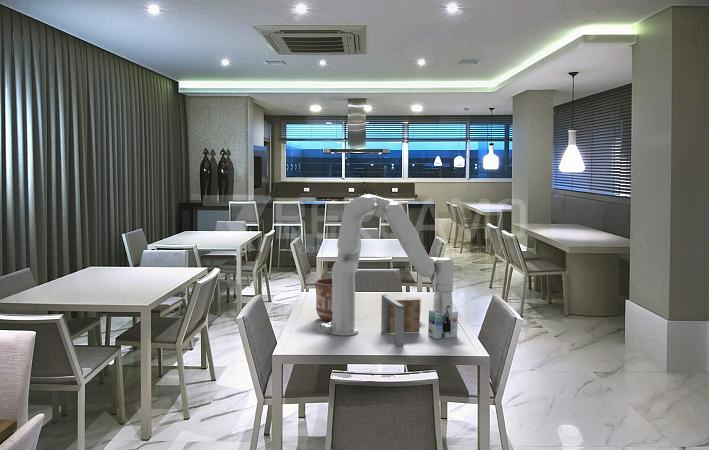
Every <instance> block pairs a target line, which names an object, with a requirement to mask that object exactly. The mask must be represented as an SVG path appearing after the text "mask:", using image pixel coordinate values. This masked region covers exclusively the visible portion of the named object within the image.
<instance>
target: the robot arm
mask: <svg viewBox="0 0 709 450" xmlns="http://www.w3.org/2000/svg"><path fill="white" fill-rule="evenodd" d="M366 216H374V217H377V218H380V219H381V218H382V219H385V220H386V222H387V224H388V225H389V227H390V230H392V232H393V234H394V235H395V238H397V241H398V243H399V244H400V246H401V248H402V249H403V251H404V253H405V254H406V256H407V258H408V260H409V261H410V263H411V264H412V266H413V268H414V270H415V271H416V272H417V274H418V275H419V276H420V277H423V278H430V277H431V276H432V275H433V274H434V295H433V307H432V308H433V309H432V310H436V311H437V312H439V313H440V316H443V319H444V323H443V332H450V331H451V318H452V310H453V292H454V291H453V290H454V260H453V259H452V258H450V257H434V256H433V257H432V256H429V254H428V252H427V251H426V249H425V248H424V247H425V246H424V245H423V243H422V241H421V239H420V235H419V233H418V231H417V229H416V227H415V226H414V225H413V222H412V221H411V220H410V218H409V215H408V214H407V213H406V210H405V208H404V206H403V205H402V203H400V202H399V201H394V200H392V199H388V198H384V197H381V196H378V195H375V194H374V195H373V194H370V193H368V194H363V195H361V196H358V197H356V198H353V199H352V200H350V201H349V202H348V203H347V205H346V206H345V207H344V210H343V213H342V218H341V224H340V226H339V227H340V229H339V233H338V239H337V244H336V246H337V250H338V252H337V258H336V261H335V262H334V264H333V266H332V267H331V278H332V289H333V290H332V292H333V293H332V296H333V304H332V321H331V322H324V323H321V325H320V327H321V329H325V330H328V333H329V334H331V335H332V336H333V335H335V336H345V337H347V336H353V335H356V334H359V329H358V328H357V327H356V323H355V321H356V283H355V281H356V276H355V275H356V272H357V271H358V267H359V261H360V256H361V255H360V254H361V249H362V238H361V236H360V234H361V229H362V225H363V224H362V222H363V219H364V218H365V217H366ZM445 314H448V315H445ZM445 317H447V318H445Z"/></svg>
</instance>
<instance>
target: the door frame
mask: <svg viewBox="0 0 709 450" xmlns="http://www.w3.org/2000/svg"><path fill="white" fill-rule="evenodd" d="M395 300H396V299H394V298H392V297H391V296H389V295H387V294H381V317H380V318H381V321H380V323H381V324H380V326H381V327H380V328H381V329H380V332H381V333H382V334H388V333H387V327H388V302H389V303H390V304H392V305H393V306H395V333H394V341H393V342H394V344H395V346H397V347H400V348H403V347H404V338H405V336H404V335H405V333H404V306H403V305H401V304H400V303H398V302H397V301H395Z"/></svg>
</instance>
